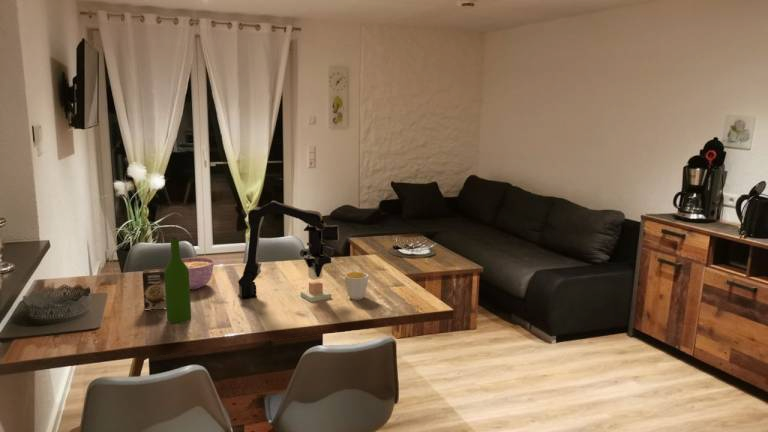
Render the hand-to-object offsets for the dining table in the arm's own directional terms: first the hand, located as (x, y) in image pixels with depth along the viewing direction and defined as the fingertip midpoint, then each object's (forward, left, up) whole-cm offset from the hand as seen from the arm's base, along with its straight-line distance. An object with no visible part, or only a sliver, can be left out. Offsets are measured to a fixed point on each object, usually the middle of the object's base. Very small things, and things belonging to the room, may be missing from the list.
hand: (315, 275), depth 257 cm
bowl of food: (-41, +44, -10) cm, 61 cm away
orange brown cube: (0, 0, -8) cm, 8 cm away
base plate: (0, 0, -10) cm, 10 cm away
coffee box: (-62, +23, -10) cm, 67 cm away
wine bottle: (-58, +4, -10) cm, 59 cm away
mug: (+15, -9, -10) cm, 20 cm away
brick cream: (0, 0, -1) cm, 1 cm away
